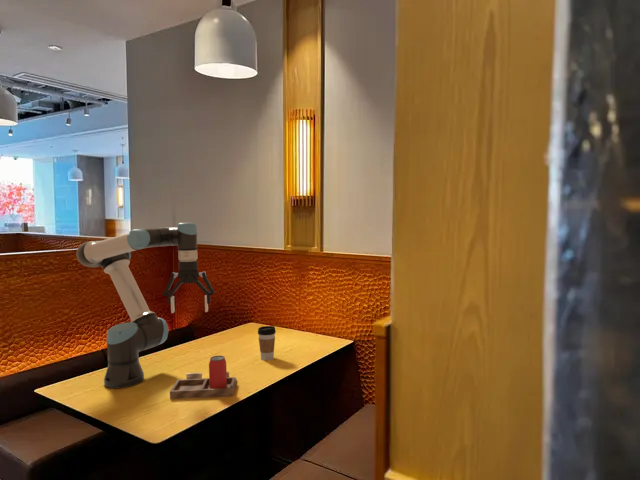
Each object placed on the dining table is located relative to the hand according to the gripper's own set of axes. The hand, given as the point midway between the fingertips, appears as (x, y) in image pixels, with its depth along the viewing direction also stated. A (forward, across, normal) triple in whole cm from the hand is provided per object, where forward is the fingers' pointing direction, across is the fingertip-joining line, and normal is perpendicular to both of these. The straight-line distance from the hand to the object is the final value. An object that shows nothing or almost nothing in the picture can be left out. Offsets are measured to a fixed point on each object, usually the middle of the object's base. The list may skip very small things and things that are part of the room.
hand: (189, 312), depth 183 cm
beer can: (+28, +12, -12) cm, 33 cm away
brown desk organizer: (+29, +7, -10) cm, 31 cm away
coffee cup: (+29, +30, +24) cm, 48 cm away
